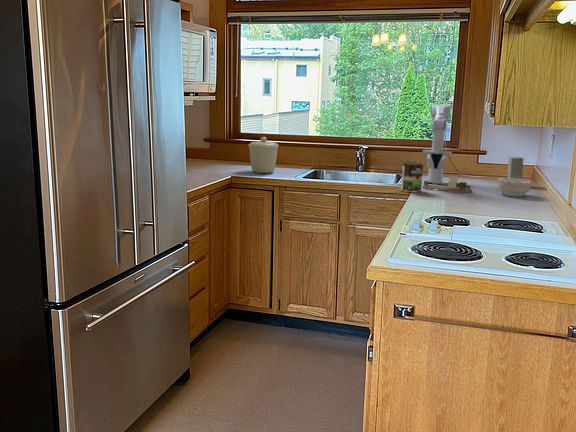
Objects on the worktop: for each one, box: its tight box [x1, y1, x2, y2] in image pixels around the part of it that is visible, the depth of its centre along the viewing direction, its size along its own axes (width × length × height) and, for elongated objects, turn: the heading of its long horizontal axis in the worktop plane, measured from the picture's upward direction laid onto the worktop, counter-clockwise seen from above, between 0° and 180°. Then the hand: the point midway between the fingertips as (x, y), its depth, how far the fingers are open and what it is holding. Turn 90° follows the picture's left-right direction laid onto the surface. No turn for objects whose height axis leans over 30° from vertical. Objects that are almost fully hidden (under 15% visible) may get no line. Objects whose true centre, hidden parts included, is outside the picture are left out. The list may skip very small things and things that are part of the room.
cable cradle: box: [421, 179, 473, 194], centre depth 287 cm, size 10×24×5 cm, turn 62°
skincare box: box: [507, 156, 524, 179], centre depth 304 cm, size 8×7×16 cm
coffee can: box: [400, 161, 424, 193], centre depth 280 cm, size 10×10×14 cm
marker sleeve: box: [447, 175, 459, 189], centre depth 285 cm, size 4×4×6 cm
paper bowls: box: [497, 177, 532, 198], centre depth 276 cm, size 15×15×8 cm
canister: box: [247, 136, 280, 174], centre depth 325 cm, size 18×18×21 cm
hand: (435, 168), depth 289 cm, fingers closed
